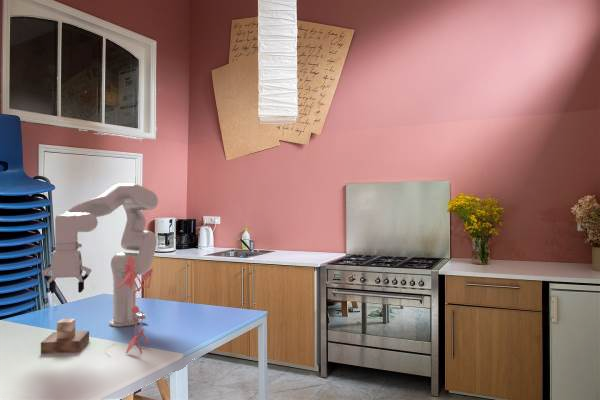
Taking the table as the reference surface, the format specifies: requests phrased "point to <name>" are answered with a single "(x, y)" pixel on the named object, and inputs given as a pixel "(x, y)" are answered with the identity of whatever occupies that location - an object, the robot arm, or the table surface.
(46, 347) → the walnut base
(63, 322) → the maple block
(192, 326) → the table surface
